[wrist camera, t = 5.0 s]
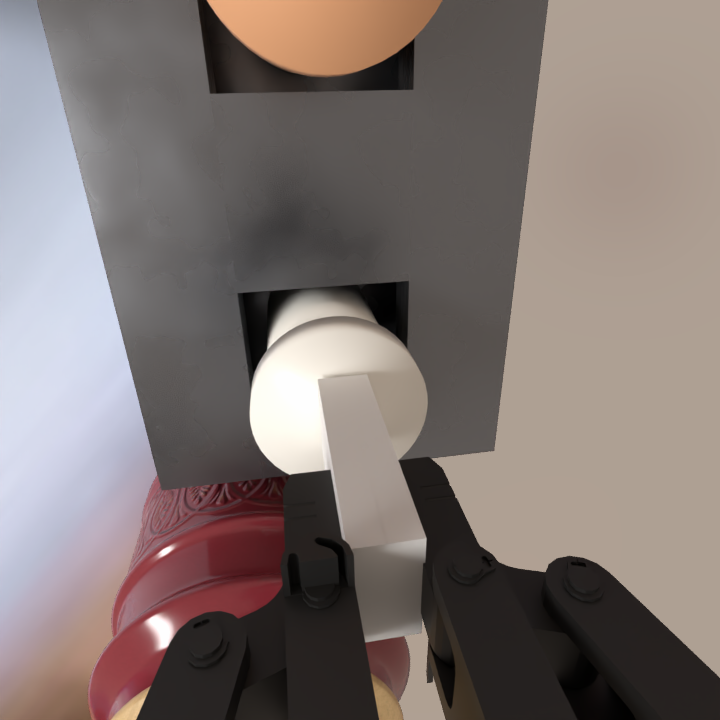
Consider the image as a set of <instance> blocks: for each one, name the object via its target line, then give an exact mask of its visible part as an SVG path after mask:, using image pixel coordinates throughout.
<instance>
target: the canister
mask: <svg viewBox="0 0 720 720" xmlns="http://www.w3.org/2000/svg"><path fill="white" fill-rule="evenodd" d="M289 477H290V475H288V476H279V477H271V478H263V479H254V480H246V481H237V482H229V483H221V484H212V485H204V486H196V487H187V488H179V489H171V490H161V486H160V482H159V479H158V475H157V476H156V478H155V480H154V481H153V484H152V486H151V488H150V491H149V493H148V497H147V499H146V502H145V505H144V510H143V515H142V528H141V531H140V534H139V538H138V541H137V544H136V547H135V551H134V554H133V557H132V560H131V564H130V567H129V570H128V574H127V576H126V578H125V579H124V581H123V582H122V584H121V586H120V588H119V590H118V592H117V595H116V598H115V601H114V604H113V609H112V618H111V624H112V633H113V639H112V640H111V641H110V642H109V644H108V645H107V646H106V647H105V649H104V650H103V652H102V653H101V655H100V656H99V658H98V660H97V662H96V664H95V666H94V668H93V671H92V674H91V677H90V681H89V686H88V706H89V711H90V715H91V718H92V720H136V719H137V716H138V714H139V712H140V710H141V707H142V705H143V703H144V700H145V698H146V696H147V694H148V691H149V689H150V687H151V684H152V682H153V680H154V678H155V675H156V673H157V671H158V668H159V666H160V664H161V662H162V659H163V657H164V655H165V652H166V650H167V648H168V646H169V643H170V642H171V640H172V639H173V637H174V636H175V634H176V632H177V631H178V630H179V629H180V628H181V627H182V626H183V625H184V624H186V623H187V622H188V621H189V620H190V619H192V618H194V617H196V616H199V615H201V614H203V613H205V612H214V611H223V612H227V613H231V614H233V615H235V616H236V617H237V618H238V619H239V618H241V617H243V616H245V615H247V614H249V613H252V612H254V611H256V610H258V609H259V608H261V607H263V606H265V605H266V604H267V603H269V602H270V601H271V600H272V599H273V598H274V597H275V596H276V595H277V593H278V592H279V590H280V589H281V587H282V585H283V583H282V576H281V568H280V564H281V559H282V554H283V553H284V551H285V540H284V507H283V488H284V486H285V484H286V482H287V480H288V479H289ZM365 644H366V649H367V655H368V661H369V666H370V672H371V677H372V683H373V688H374V694H375V699H376V705H377V710H378V716H379V720H403V714H402V710H401V707H400V705H399V703H398V702H399V700H400V699H401V696H402V694H403V692H404V690H405V687H406V685H407V681H408V677H409V671H410V654H409V648H408V645H407V642H406V639H405V637H404V636H401V637H395V638H389V639H383V640H377V641H371V642H365Z"/></svg>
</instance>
